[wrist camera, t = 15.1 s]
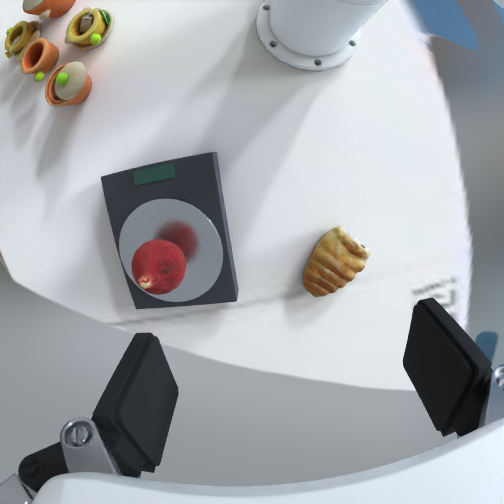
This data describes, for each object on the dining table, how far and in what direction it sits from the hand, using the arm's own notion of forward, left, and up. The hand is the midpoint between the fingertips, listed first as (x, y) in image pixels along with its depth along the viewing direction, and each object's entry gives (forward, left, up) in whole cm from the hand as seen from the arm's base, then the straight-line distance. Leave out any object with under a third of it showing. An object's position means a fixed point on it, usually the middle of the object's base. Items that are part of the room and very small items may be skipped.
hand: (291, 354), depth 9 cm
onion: (+4, -12, -23) cm, 26 cm away
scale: (+2, -12, -26) cm, 29 cm away
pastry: (+8, +8, -26) cm, 29 cm away
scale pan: (+4, -12, -23) cm, 26 cm away
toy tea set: (-30, -25, -26) cm, 47 cm away
